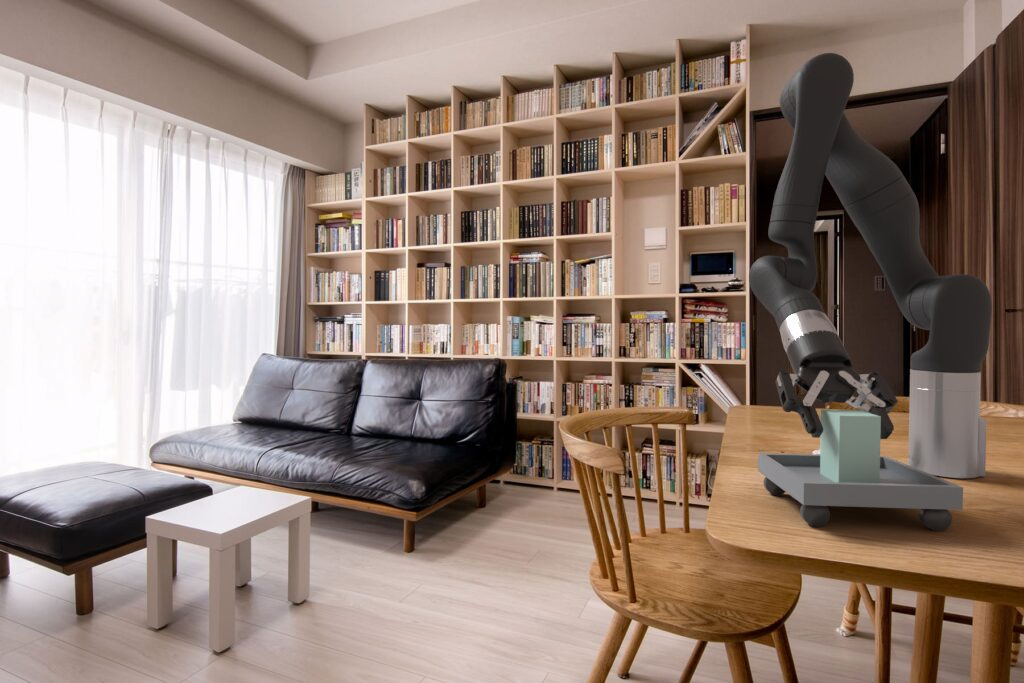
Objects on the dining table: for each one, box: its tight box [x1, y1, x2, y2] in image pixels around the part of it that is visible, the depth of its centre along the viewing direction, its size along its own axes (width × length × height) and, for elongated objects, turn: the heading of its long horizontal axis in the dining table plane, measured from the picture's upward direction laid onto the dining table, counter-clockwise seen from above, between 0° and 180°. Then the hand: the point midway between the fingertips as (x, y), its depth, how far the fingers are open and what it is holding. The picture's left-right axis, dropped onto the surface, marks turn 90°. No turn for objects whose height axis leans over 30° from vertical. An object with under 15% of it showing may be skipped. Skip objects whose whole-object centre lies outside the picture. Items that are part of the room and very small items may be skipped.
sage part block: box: [819, 409, 881, 483], centre depth 70 cm, size 5×5×9 cm
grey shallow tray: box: [757, 452, 964, 532], centre depth 70 cm, size 18×15×6 cm
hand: (852, 435), depth 69 cm, fingers open, 8 cm apart
